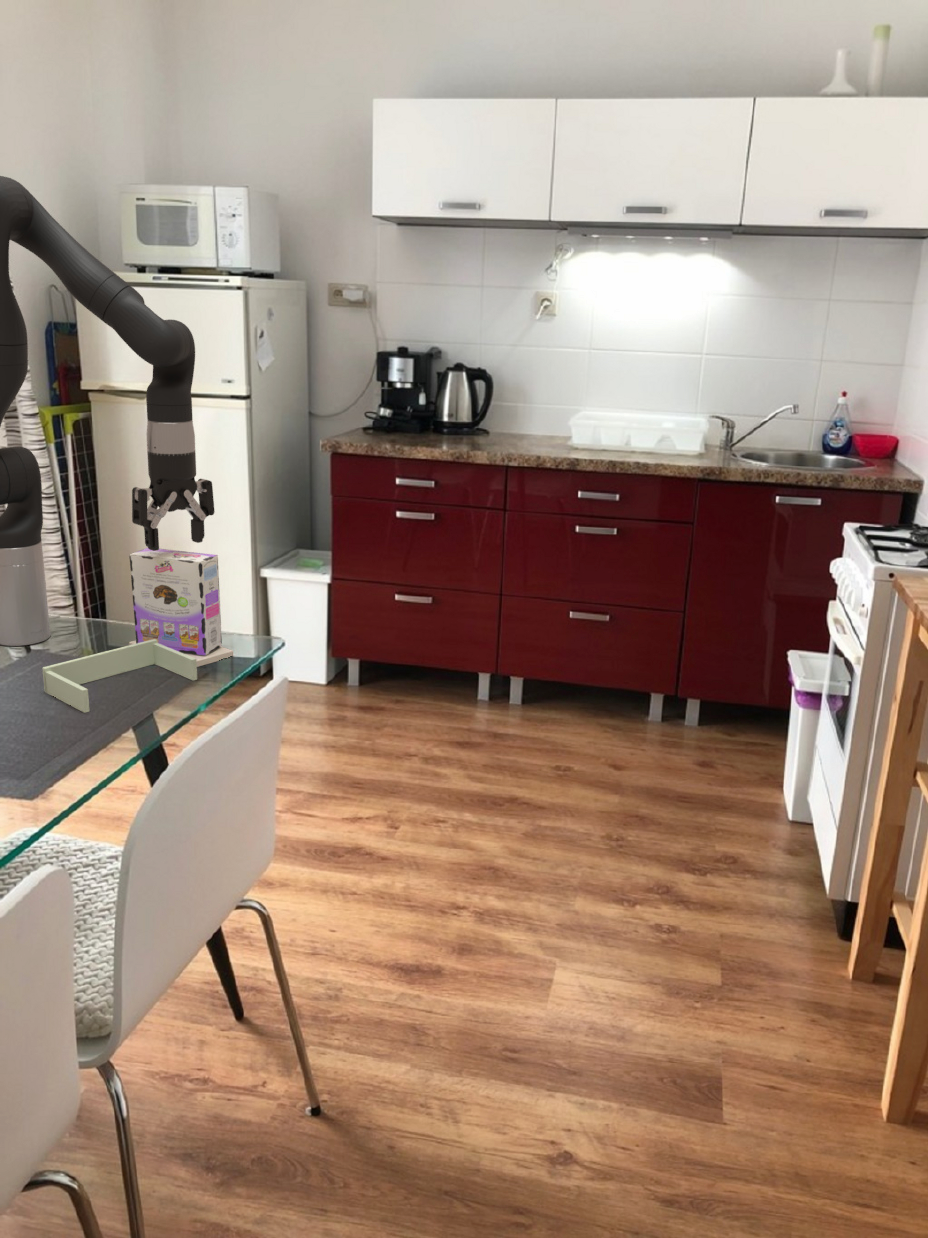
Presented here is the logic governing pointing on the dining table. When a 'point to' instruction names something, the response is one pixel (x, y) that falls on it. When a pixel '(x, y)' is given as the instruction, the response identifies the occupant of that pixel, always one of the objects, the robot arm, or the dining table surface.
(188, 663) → the green u-shaped frame
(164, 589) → the candy box
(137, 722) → the dining table surface
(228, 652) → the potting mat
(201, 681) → the dining table surface
